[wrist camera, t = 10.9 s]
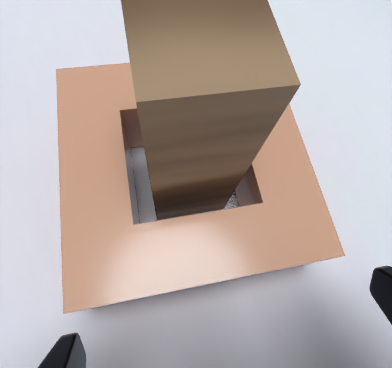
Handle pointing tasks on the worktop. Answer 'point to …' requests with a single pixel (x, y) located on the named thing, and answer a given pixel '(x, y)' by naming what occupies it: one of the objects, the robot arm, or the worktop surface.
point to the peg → (204, 94)
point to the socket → (180, 226)
